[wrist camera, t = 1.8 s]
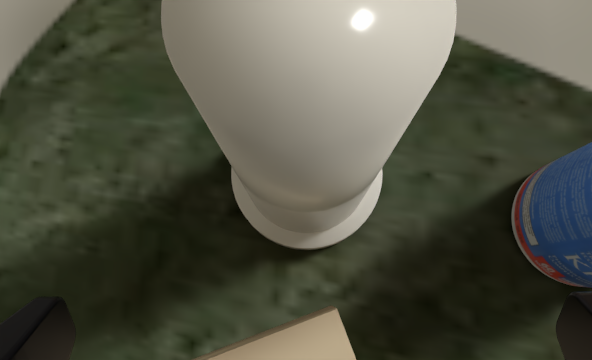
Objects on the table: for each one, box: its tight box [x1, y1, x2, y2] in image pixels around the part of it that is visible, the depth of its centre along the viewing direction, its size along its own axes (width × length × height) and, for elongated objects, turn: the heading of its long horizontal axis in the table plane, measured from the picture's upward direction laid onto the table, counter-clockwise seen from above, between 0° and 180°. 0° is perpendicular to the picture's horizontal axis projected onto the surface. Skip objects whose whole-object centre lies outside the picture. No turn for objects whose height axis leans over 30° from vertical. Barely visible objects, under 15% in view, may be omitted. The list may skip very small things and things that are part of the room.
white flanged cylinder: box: [161, 0, 456, 250], centre depth 15 cm, size 6×6×13 cm
